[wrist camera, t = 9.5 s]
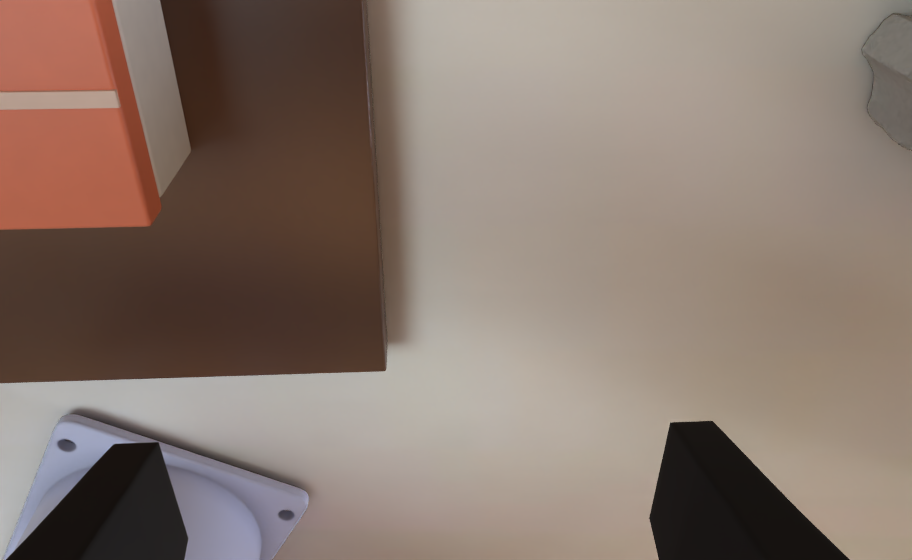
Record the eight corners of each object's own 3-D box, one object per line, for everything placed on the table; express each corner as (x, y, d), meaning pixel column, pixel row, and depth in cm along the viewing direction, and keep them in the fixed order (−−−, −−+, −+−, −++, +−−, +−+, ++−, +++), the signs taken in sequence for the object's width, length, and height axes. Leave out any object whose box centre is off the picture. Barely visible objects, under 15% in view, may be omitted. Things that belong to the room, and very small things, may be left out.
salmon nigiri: (194, 160, 16) (150, 230, 13) (12, 163, 16) (-71, 235, 13) (110, -246, 12) (23, -265, 9) (-134, -248, 12) (-295, -267, 9)
